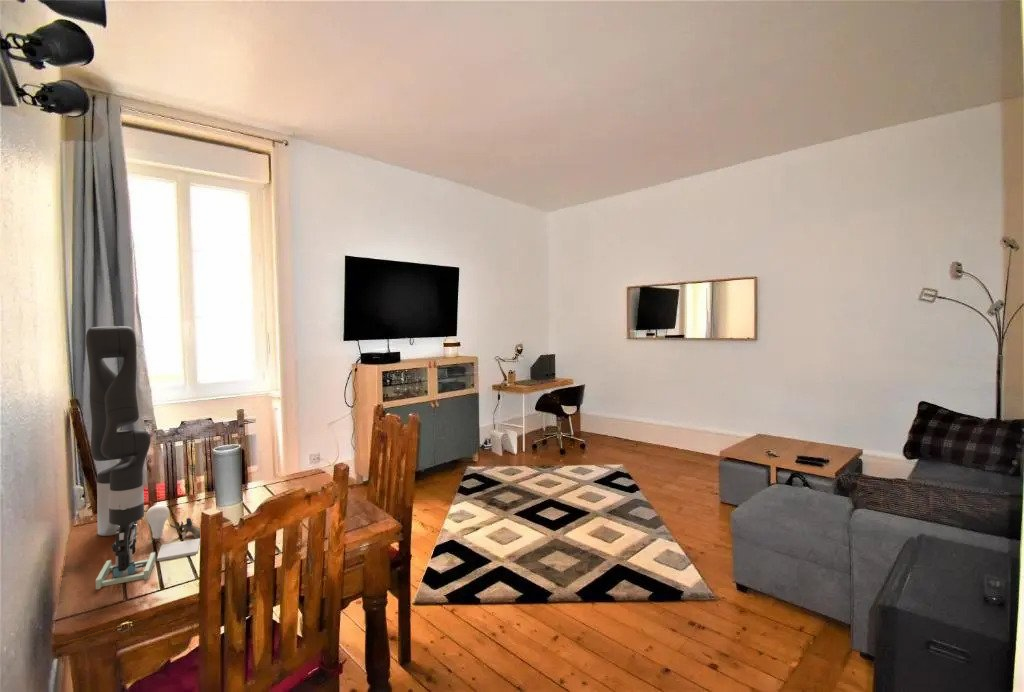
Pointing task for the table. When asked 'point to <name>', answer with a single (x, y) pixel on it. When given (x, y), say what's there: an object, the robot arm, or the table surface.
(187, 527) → the eagle figurine
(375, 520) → the table surface
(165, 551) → the tile
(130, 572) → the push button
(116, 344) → the robot arm
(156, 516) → the lightbulb
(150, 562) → the frame
